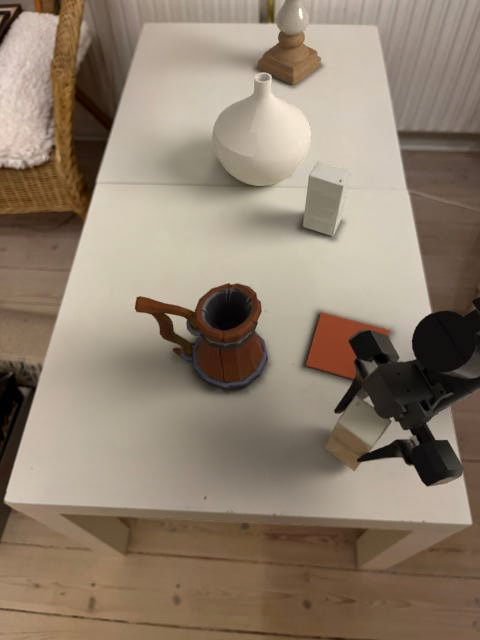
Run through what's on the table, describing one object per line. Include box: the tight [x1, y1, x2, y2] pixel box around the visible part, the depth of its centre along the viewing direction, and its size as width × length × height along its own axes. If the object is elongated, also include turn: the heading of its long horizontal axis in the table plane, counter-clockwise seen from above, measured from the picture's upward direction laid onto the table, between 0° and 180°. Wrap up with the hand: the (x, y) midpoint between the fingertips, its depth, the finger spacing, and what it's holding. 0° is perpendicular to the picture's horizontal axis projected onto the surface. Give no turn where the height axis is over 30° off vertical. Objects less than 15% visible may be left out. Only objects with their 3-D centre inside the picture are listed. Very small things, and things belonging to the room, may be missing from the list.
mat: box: [305, 311, 390, 381], centre depth 75 cm, size 11×10×1 cm
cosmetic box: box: [302, 160, 352, 237], centre depth 84 cm, size 6×4×12 cm
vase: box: [211, 71, 312, 187], centre depth 89 cm, size 18×18×19 cm
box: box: [324, 396, 393, 472], centre depth 61 cm, size 5×4×11 cm
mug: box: [134, 282, 268, 391], centre depth 69 cm, size 18×12×15 cm, turn 83°
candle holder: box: [257, 0, 322, 86], centre depth 106 cm, size 11×11×24 cm
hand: (346, 435), depth 60 cm, fingers closed on box, 6 cm apart
